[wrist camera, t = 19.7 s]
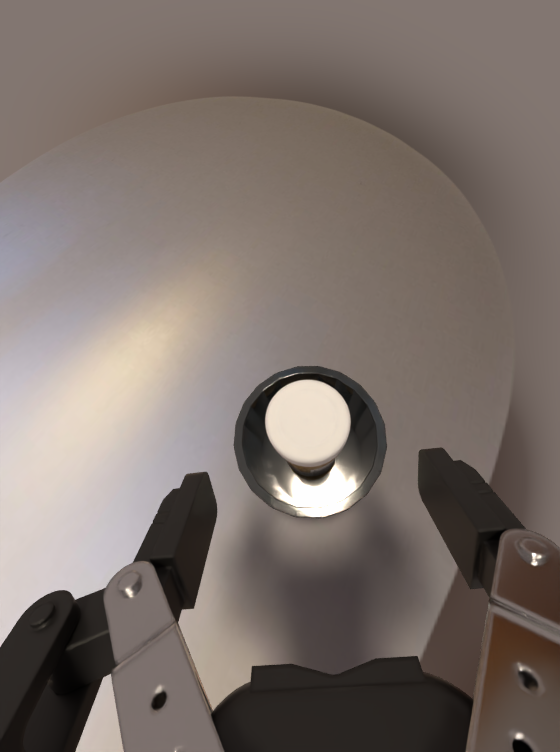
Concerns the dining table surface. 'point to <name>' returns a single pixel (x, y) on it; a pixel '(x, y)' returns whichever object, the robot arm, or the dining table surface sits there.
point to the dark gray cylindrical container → (351, 466)
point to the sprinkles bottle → (308, 426)
